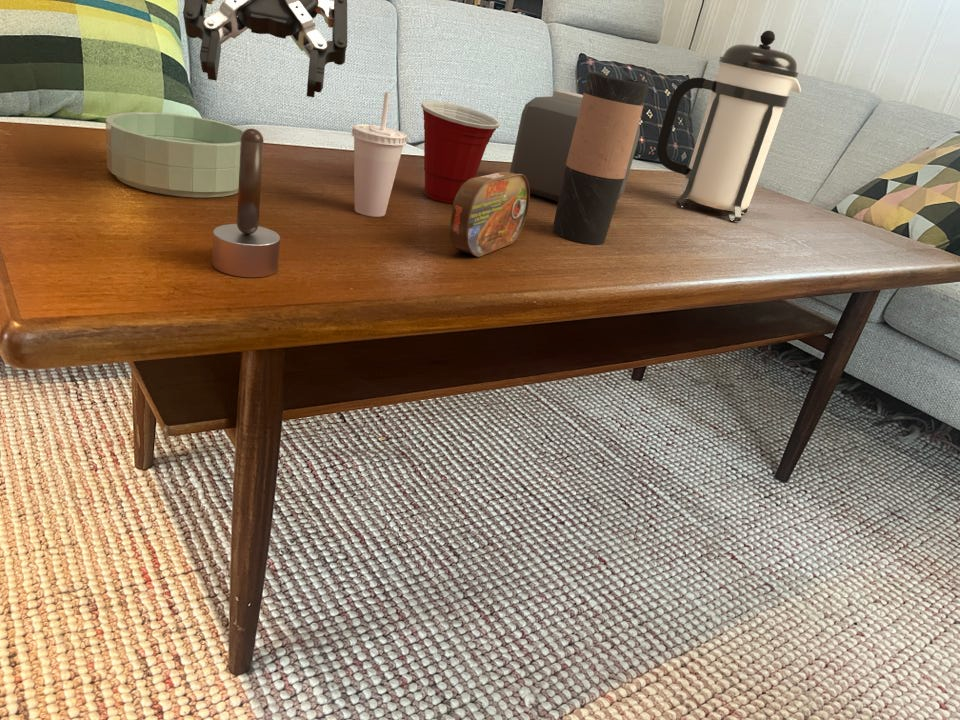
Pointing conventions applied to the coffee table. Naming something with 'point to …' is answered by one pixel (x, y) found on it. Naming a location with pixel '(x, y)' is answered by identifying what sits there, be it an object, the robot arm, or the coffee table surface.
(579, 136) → the travel mug
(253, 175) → the wooden handle stamp
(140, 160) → the bowl
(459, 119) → the plastic cup
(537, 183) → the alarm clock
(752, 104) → the coffee press
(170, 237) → the coffee table surface
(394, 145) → the smoothie
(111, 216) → the coffee table surface
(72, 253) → the coffee table surface
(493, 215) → the tin
